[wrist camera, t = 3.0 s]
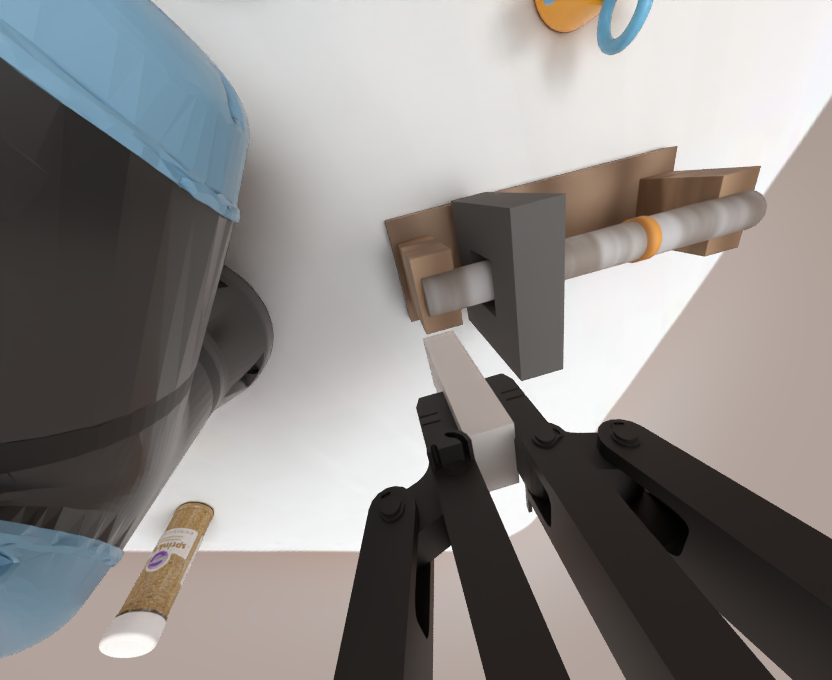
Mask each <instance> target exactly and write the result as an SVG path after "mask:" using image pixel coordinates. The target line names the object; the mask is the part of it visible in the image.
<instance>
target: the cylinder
mask: <svg viewBox="0 0 832 680" xmlns="http://www.w3.org/2000/svg"><path fill="white" fill-rule="evenodd" d="M616 1H617V0H535V3H536V6H537V10H538V12H539V14H540V16H541V18H542V19H543V21H544V22H545V23H546V25H548V26H549V27H550V28H551V29H553V30H556V31H559V32H570V31H574V30H576V29H578V28H580V27H582V26H583V25H585V24H586V23H587V22H589V21H590V20H591V19H593V18H594V17H596V16H597V15H598V14H599V19H598V26H597V41H598V45H599V48H600V49H601V51H602V52H603V53H604V54H607V55H614V54H617V53H619V52H621V51H622V50H623V49H625V48H626V47H627V46H628V45H629V44H630V43H631V42H632V41H633V39H634V38H635V37H636V35H637V34H638V32H639V31H640V29H641V28H642V26H643V24H644V22H645V20H646V18H647V16H648V14H649V11H650V9H651V6H652V3H653V0H638V4H637V7H636V10H635V12H634V15H633V17H632V19H631V21H630V23H629V25H628V26H627V28H626V29H625V31H624V32H623V33H622V34H621V35H620V36H619V37H618V38H616V39H614V38H613V37H612V36H611V31H610V24H611V17H612V13H613V9H614V6H615V3H616Z"/></svg>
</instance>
